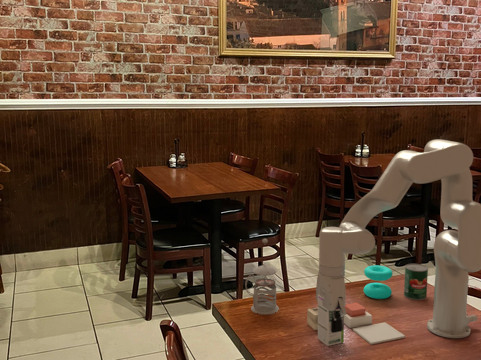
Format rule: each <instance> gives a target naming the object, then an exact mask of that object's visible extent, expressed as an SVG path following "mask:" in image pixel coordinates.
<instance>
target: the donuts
mask: <svg viewBox="0 0 481 360" xmlns="http://www.w3.org/2000/svg"><path fill="white" fill-rule="evenodd" d="M363 272H364V276H365V277H366V278H367V279H369V280H372V281H376V282H370V283H367V284H366V285H365V286H364V288H363V293H364V294H365V295H366V296H367V297H369V298H372V299H374V300H375V299H376V300H377V299H378V300H383V299H387V298H389V297H390V296H392V292H393V291H392V289H391V287H390V286H389V285H387V284H385V283H381V282H384V281H385V282H386V281H388V280H390V279H391V278H392V276H393V271H392V269H391V268H389V267H387V266H385V265H379V264H378V265H377V264H376V265H375V264H374V265H368V266H367V267H365V268H364V271H363Z"/></svg>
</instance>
